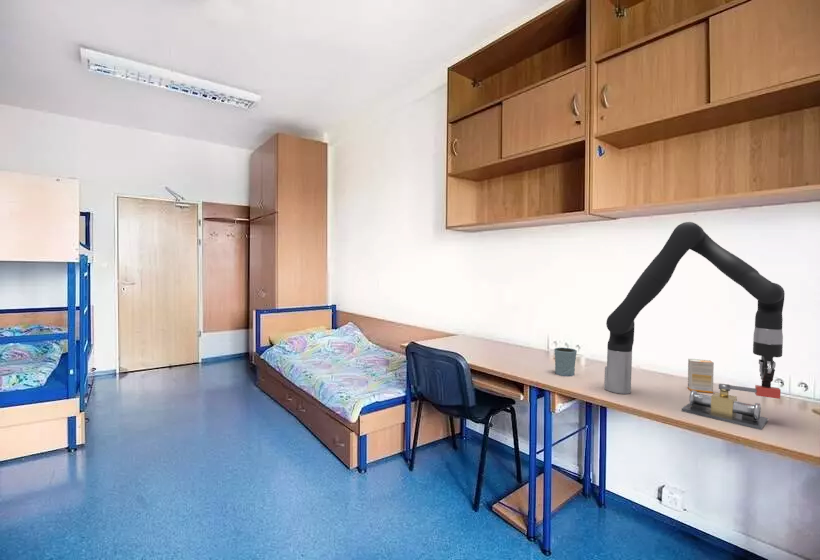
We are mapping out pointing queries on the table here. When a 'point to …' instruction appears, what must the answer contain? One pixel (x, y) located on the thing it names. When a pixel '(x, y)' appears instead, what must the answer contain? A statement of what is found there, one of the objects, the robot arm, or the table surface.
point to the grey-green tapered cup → (565, 361)
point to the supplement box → (700, 375)
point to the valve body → (725, 409)
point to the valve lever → (755, 390)
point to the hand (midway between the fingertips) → (765, 391)
